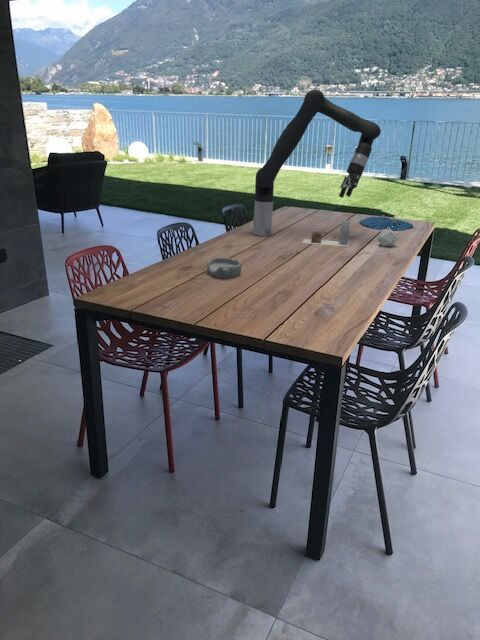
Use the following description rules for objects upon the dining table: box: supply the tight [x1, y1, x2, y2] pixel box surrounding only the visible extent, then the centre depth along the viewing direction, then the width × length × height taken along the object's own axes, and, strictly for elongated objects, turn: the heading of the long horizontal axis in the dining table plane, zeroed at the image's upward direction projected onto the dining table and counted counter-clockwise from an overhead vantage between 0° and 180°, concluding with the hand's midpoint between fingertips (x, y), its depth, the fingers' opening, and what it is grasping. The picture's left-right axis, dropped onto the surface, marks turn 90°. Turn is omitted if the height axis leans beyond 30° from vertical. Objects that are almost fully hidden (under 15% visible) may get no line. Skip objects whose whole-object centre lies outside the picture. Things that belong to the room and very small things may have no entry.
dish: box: [206, 257, 243, 279], centre depth 211 cm, size 14×14×5 cm
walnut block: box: [311, 231, 323, 243], centre depth 256 cm, size 4×4×4 cm
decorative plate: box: [359, 214, 414, 231], centre depth 304 cm, size 30×30×5 cm
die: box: [376, 229, 398, 247], centre depth 259 cm, size 8×9×10 cm
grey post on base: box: [301, 219, 351, 247], centre depth 255 cm, size 22×8×12 cm, turn 79°
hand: (344, 196), depth 257 cm, fingers open, 8 cm apart
